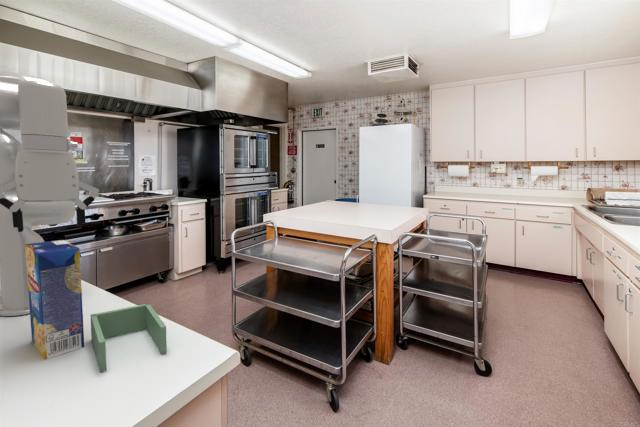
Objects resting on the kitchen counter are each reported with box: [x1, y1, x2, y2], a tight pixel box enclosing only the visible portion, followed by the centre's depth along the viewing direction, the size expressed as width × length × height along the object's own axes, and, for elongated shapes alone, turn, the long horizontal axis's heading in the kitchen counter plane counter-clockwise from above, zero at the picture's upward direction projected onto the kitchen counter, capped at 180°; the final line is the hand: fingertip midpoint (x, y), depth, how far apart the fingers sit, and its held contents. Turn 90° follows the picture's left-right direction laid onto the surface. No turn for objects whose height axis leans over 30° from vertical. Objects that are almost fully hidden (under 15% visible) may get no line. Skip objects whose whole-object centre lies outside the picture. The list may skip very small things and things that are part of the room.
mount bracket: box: [90, 302, 168, 373], centre depth 74 cm, size 15×12×6 cm
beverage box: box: [25, 239, 85, 360], centre depth 73 cm, size 7×11×22 cm, turn 50°
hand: (51, 229), depth 71 cm, fingers open, 9 cm apart
